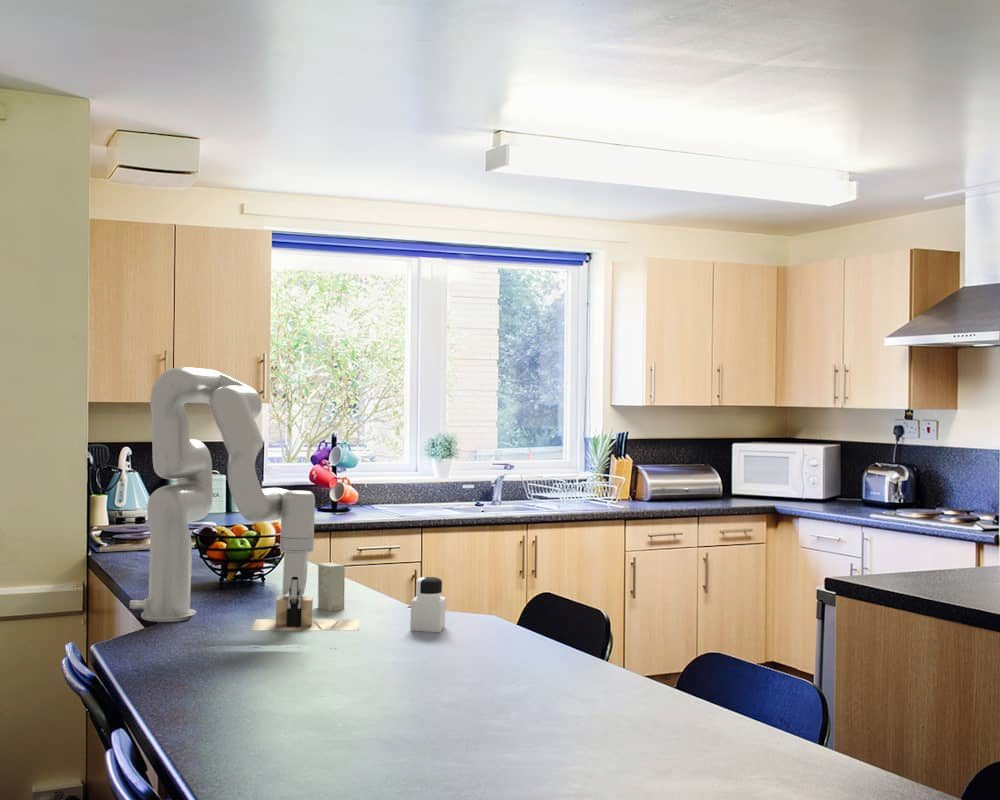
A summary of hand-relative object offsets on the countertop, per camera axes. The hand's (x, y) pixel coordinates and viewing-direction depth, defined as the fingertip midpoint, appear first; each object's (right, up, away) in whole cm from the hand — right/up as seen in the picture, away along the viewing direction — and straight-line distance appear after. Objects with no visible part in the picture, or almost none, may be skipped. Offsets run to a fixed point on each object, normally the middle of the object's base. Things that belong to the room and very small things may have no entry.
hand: (294, 622), depth 242 cm
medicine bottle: (+30, -3, +5) cm, 31 cm away
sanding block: (0, 0, 0) cm, 0 cm away
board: (+3, -2, 0) cm, 3 cm away
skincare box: (+5, -2, +21) cm, 21 cm away
